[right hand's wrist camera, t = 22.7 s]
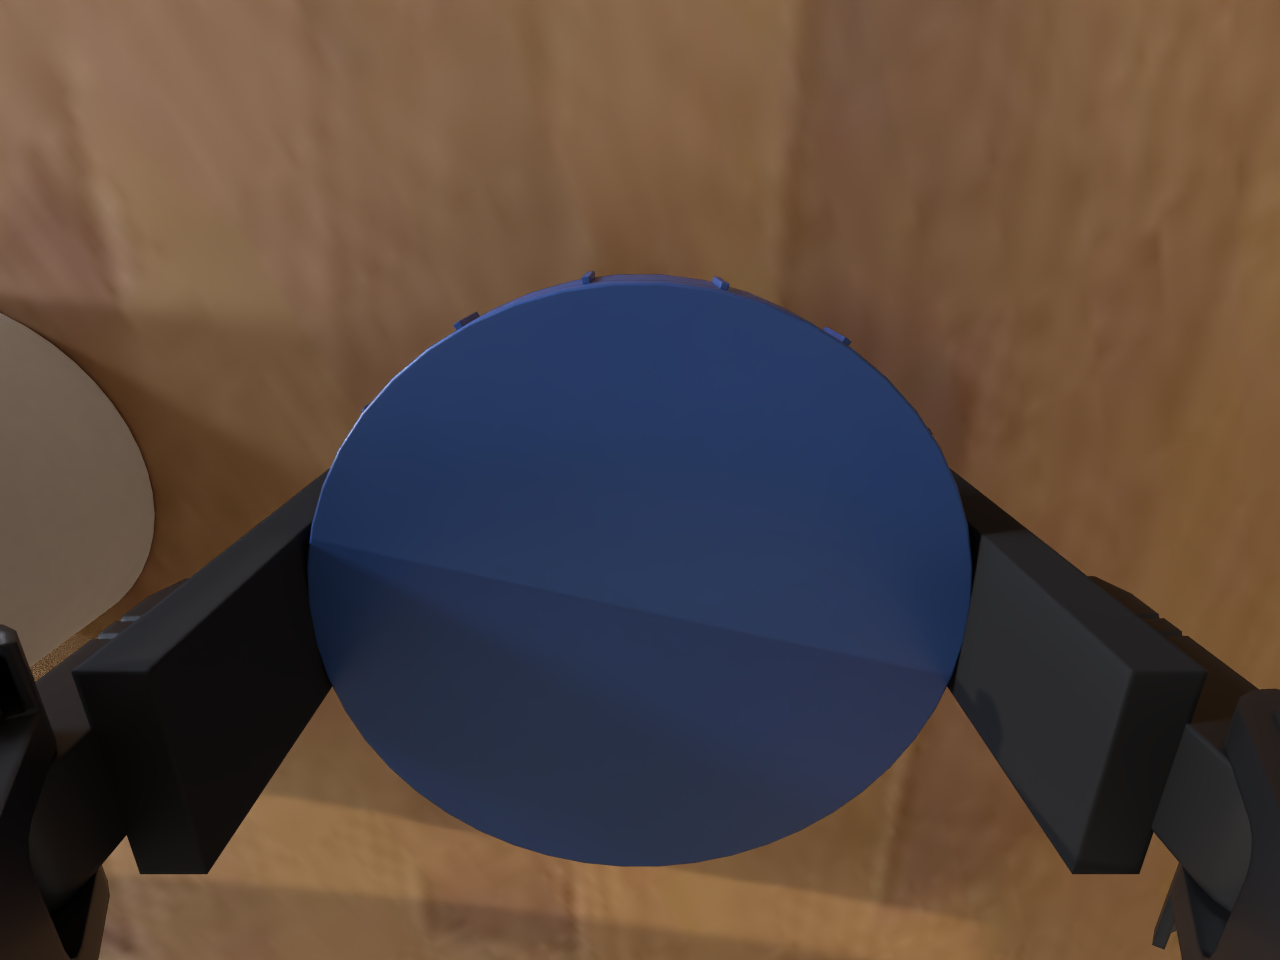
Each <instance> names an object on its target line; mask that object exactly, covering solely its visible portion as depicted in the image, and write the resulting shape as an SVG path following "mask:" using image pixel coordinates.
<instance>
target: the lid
mask: <svg viewBox="0 0 1280 960" xmlns="http://www.w3.org/2000/svg"><path fill="white" fill-rule="evenodd" d="M453 326H454V327H455V329H456V330H457V331H455V332H453V333H452V334H450V335H449V336H447V337H445V338H444V339H442V340H440V341H439V342H437V343H436V344H434V345H432V346H431V347H429V348H428V349H427V350H425V351H424V352H423V353H422V354H421V355H419V356H418V357H417V358H416V359H415V360H413V361H412V362H411V363H410V364H409V365H408V366H406V367H405V368H404V369H403V370H402V371H400V372H399V373H398V374H397V375H396V376H394V377H393V378H392V379H391V380H390V382H389V383H388V384H387V385H386V386H385V387H384V388H383V389H382V391H381V392H380V393H379V394H378V395H377V396H376V397H375V398H374V400H373V401H372V402H371V403H369V404H368V405H366V406H365V407H364V408H363V410H362V411H361V412H362V414H361V415H360V417H359V418H358V420H357V421H356V423H355V425H354V426H353V428H352V429H351V431H350V432H349V434H348V435H347V437H346V439H345V440H344V442H343V443H342V445H341V446H340V448H339V450H338V452H337V454H336V457H335V459H334V461H333V463H332V466H331V468H330V470H329V472H328V475H327V477H326V479H325V481H324V484H323V486H322V489H321V493H320V496H319V500H318V504H317V507H316V511H315V515H314V519H313V522H312V526H311V535H310V544H309V553H308V562H307V576H308V599H309V605H310V610H311V615H312V621H313V626H314V631H315V636H316V642H317V646H318V650H319V652H320V655H321V658H322V661H323V664H324V667H325V670H326V673H327V676H328V678H329V680H330V682H331V684H332V686H333V688H334V690H335V692H336V694H337V696H338V698H339V700H340V702H341V704H342V706H343V708H344V709H345V711H346V713H347V714H348V715H349V717H350V718H351V720H352V721H353V723H354V724H355V726H356V727H357V729H358V730H359V732H360V733H361V734H362V736H363V737H364V739H365V740H366V741H367V743H368V744H369V745H370V746H371V747H372V748H373V749H374V750H375V752H376V753H377V754H378V755H379V756H380V757H381V758H382V759H383V761H384V762H385V763H386V764H387V765H388V766H389V767H390V768H391V769H392V770H393V771H394V772H395V773H396V774H397V775H399V776H400V777H401V778H402V779H403V780H404V781H405V782H407V783H408V784H409V785H410V786H411V787H412V788H413V789H414V790H416V791H417V792H418V793H419V794H421V795H422V796H424V797H425V798H426V799H428V800H429V801H431V802H432V803H434V804H435V805H436V806H438V807H439V808H441V809H442V810H444V811H445V812H446V813H448V814H450V815H452V816H453V817H455V818H457V819H459V820H461V821H463V822H464V823H466V824H468V825H470V826H472V827H474V828H475V829H477V830H479V831H481V832H484V833H486V834H488V835H491V836H493V837H496V838H498V839H500V840H503V841H505V842H507V843H510V844H512V845H515V846H518V847H522V848H525V849H528V850H532V851H535V852H538V853H541V854H545V855H548V856H553V857H558V858H563V859H568V860H573V861H578V862H583V863H591V864H602V865H612V866H667V865H677V864H688V863H696V862H701V861H706V860H711V859H717V858H722V857H727V856H731V855H735V854H738V853H741V852H745V851H748V850H751V849H754V848H758V847H761V846H764V845H767V844H770V843H772V842H774V841H777V840H779V839H781V838H784V837H786V836H789V835H791V834H793V833H796V832H798V831H800V830H802V829H804V828H806V827H808V826H810V825H811V824H813V823H815V822H817V821H819V820H820V819H822V818H824V817H826V816H828V815H829V814H831V813H833V812H834V811H836V810H837V809H839V808H840V807H842V806H843V805H844V804H846V803H847V802H849V801H850V800H851V799H853V798H854V797H856V796H857V795H859V794H860V793H861V792H863V791H864V790H865V789H866V788H867V787H868V786H870V785H871V784H872V783H873V782H874V781H875V780H876V779H877V778H879V777H880V776H881V775H882V774H883V773H884V772H885V771H886V770H888V769H889V768H890V767H891V766H892V764H893V763H894V762H895V761H896V760H897V759H898V758H899V757H900V755H901V754H902V753H903V752H904V751H905V750H906V749H907V748H908V746H909V745H910V744H911V743H912V742H913V741H914V740H915V738H916V737H917V735H918V734H919V732H920V731H921V729H922V728H923V726H924V725H925V723H926V722H927V721H928V719H929V718H930V716H931V715H932V713H933V712H934V710H935V709H936V707H937V705H938V703H939V701H940V699H941V697H942V695H943V693H944V691H945V689H946V687H947V685H948V683H949V681H950V679H951V677H952V674H953V671H954V668H955V666H956V663H957V660H958V657H959V654H960V651H961V647H962V643H963V638H964V633H965V627H966V622H967V617H968V612H969V606H970V601H971V590H972V556H971V547H970V539H969V530H968V523H967V520H966V516H965V512H964V509H963V505H962V501H961V498H960V494H959V490H958V487H957V484H956V482H955V480H954V477H953V475H952V473H951V471H950V469H949V466H948V464H947V462H946V460H945V457H944V455H943V453H942V451H941V448H940V447H939V445H938V444H937V442H936V440H935V439H934V437H933V436H932V432H931V431H930V429H929V428H927V427H926V425H925V423H924V422H923V420H922V419H921V417H920V416H919V414H918V413H917V411H916V410H915V409H914V408H913V407H912V406H911V404H910V403H909V402H908V401H907V400H906V399H905V398H904V396H903V395H902V394H901V393H900V392H899V391H898V390H897V389H896V387H895V386H894V385H893V384H892V383H891V382H890V381H889V380H888V378H887V377H885V376H884V375H883V374H882V373H881V372H879V371H878V370H877V369H876V368H875V367H874V366H872V365H871V364H870V363H869V362H868V361H866V360H865V359H864V358H863V357H862V356H860V355H859V354H858V353H857V352H856V351H854V350H853V349H852V348H851V347H849V346H848V345H849V344H850V343H851V341H850V340H849V339H847V338H846V337H844V336H842V335H840V334H839V333H837V332H835V331H833V330H831V329H829V328H828V327H825V328H824V329H823V330H822V329H820V328H818V327H817V326H815V325H813V324H812V323H810V322H808V321H807V320H805V319H803V318H801V317H800V316H798V315H796V314H794V313H793V312H791V311H789V310H787V309H785V308H783V307H781V306H778V305H776V304H774V303H771V302H769V301H767V300H765V299H762V298H760V297H758V296H755V295H753V294H751V293H749V292H745V291H742V290H738V289H735V288H731V287H729V283H727V282H726V281H724V280H723V279H721V278H719V277H715V276H714V277H713V280H712V282H710V281H706V280H699V279H692V278H685V277H677V276H670V275H663V274H617V275H609V276H602V277H595V273H594V271H591V272H587V273H586V274H585V275H584V276H582V277H581V280H573V281H570V282H566V283H563V284H559V285H556V286H552V287H549V288H545V289H542V290H538V291H534V292H531V293H529V294H527V295H524V296H522V297H520V298H517V299H515V300H513V301H511V302H508V303H506V304H504V305H501V306H499V307H497V308H495V309H492V310H491V311H489V312H487V313H485V314H484V315H482V316H479V314H478V313H477V312H475V313H473V314H471V315H469V316H468V317H466V318H464V319H462V320H460V321H458V322H457V323H455V324H453Z"/></svg>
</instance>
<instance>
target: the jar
mask: <svg viewBox="0 0 1280 960" xmlns="http://www.w3.org/2000/svg"><path fill="white" fill-rule="evenodd" d="M154 518H155V512H154V501H153V492H152V488H151V483H150V479H149V475H148V471H147V468H146V465H145V463H144V460H143V457H142V455H141V452H140V449H139V447H138V445H137V443H136V441H135V439H134V438H133V436H132V434H131V432H130V430H129V428H128V426H127V424H126V423H125V421H124V420H123V418H122V417H121V415H120V414H119V412H118V411H117V409H116V408H115V406H114V405H113V403H112V402H111V401H110V400H109V399H108V397H107V396H106V395H105V394H104V393H103V391H102V390H101V389H100V388H99V386H98V385H97V384H96V383H95V382H94V381H93V380H92V379H91V378H90V377H89V376H88V375H87V374H86V373H85V372H84V371H83V370H82V369H81V368H80V367H79V366H78V365H77V364H76V363H75V362H74V361H73V360H72V359H70V358H69V357H68V356H67V355H65V354H64V353H63V352H62V351H60V350H59V349H58V348H57V347H55V346H54V345H53V344H52V343H50V342H49V341H47V340H46V339H44V338H43V337H41V336H40V335H38V334H37V333H35V332H34V331H32V330H31V329H29V328H28V327H26V326H24V325H22V324H20V323H18V322H17V321H15V320H13V319H11V318H9V317H7V316H5V315H3V314H1V313H0V624H2V625H6V626H8V627H10V628H12V629H14V630H16V632H17V634H18V637H19V640H20V643H21V645H22V648H23V651H24V654H25V656H26V659H27V662H28V664H29V667H31V666H33V665H34V664H36V663H37V662H38V661H40V660H41V659H42V658H44V657H45V656H46V655H48V654H49V653H50V652H52V651H53V650H54V649H56V648H57V647H58V646H60V645H61V644H63V643H64V642H65V641H67V640H68V639H69V638H71V637H72V636H73V635H75V634H76V633H77V632H79V631H80V630H81V629H83V628H84V627H86V626H87V625H88V624H90V623H91V622H92V621H94V620H95V619H96V618H98V617H99V616H100V615H102V614H103V613H104V612H106V611H107V610H108V609H110V608H111V607H112V606H113V605H115V604H116V603H117V602H119V601H120V600H121V599H122V598H123V596H124V595H125V594H126V593H127V592H128V591H129V590H130V589H131V588H132V586H133V585H134V583H135V582H136V580H137V579H138V577H139V575H140V574H141V572H142V570H143V568H144V565H145V563H146V560H147V558H148V555H149V553H150V548H151V544H152V539H153V535H154Z"/></svg>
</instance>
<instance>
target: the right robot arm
mask: <svg viewBox="0 0 1280 960" xmlns="http://www.w3.org/2000/svg"><path fill="white" fill-rule="evenodd" d="M949 469H950V468H949ZM329 470H330V468H329V469H328V470H327V471H326V472H324V473H323V474H322V475H321V476H319V477H318V478H317V479H315V480H314V481H313V482H312V483H310V484H309V485H308V486H307V487H305V488H304V489H303V490H301V491H300V492H299V493H298V494H296V495H295V496H294V497H293V498H291V499H290V500H289V501H287V502H286V503H285V504H284V505H282V506H281V507H280V508H279V509H277V510H276V511H275V512H273V513H272V514H271V515H270V516H268V517H267V518H266V519H265V520H263V521H262V522H261V523H259V524H258V525H257V526H256V527H254V528H253V529H252V530H251V531H249V532H248V533H247V534H245V535H244V536H243V537H242V538H240V539H239V540H238V541H237V542H235V543H234V544H233V545H231V546H230V547H229V548H228V549H226V550H225V551H224V552H223V553H221V554H220V555H219V556H217V557H216V558H215V559H214V560H212V561H211V562H210V563H208V564H207V565H206V566H205V567H203V568H202V569H201V570H200V571H198V572H197V573H196V574H194V575H193V576H192V577H191V578H189V579H184V580H182V581H180V582H178V583H176V584H174V585H172V586H170V587H167V588H165V589H163V590H161V591H159V592H157V593H155V594H153V595H151V596H149V597H147V598H146V599H145V600H143V601H142V602H141V603H139V604H138V605H137V606H135V607H134V608H133V609H131V610H130V611H129V612H127V613H126V614H125V615H123V616H122V617H121V618H122V619H121V621H115V622H114V623H113V624H112V625H110V626H109V627H108V628H106V629H105V630H104V631H102V632H101V633H100V634H98V636H99V637H98V639H92V640H90V641H89V642H88V643H86V644H85V645H84V646H82V647H81V648H80V649H78V650H77V651H76V652H75V653H73V654H72V655H71V656H69V657H68V658H67V659H65V660H64V661H63V662H61V663H60V664H59V665H57V666H56V667H55V668H53V669H52V670H51V671H49V672H48V673H47V674H45V675H44V676H43V677H41V678H40V679H39V680H38V681H36V682H35V681H34V678H33V675H32V673H31V670H30V667H29V664H28V662H27V659H26V656H25V654H24V651H23V648H22V645H21V643H20V640H19V637H18V634H17V632H16V630H14V629H12V628H10V627H8V626H6V625H2V624H0V960H98V959H99V953H100V948H101V942H102V936H103V931H104V925H105V920H106V914H107V908H108V903H109V897H110V894H109V887H108V880H107V878H106V875H105V872H104V869H103V867H102V864H103V862H104V861H105V860H106V859H107V858H108V856H109V855H110V854H111V853H112V852H113V851H114V849H115V848H116V847H117V846H118V845H119V843H120V842H121V841H122V840H123V839H124V837H125V836H126V835H127V837H128V840H129V843H130V846H131V849H132V852H133V854H134V857H135V860H136V863H137V866H138V869H139V872H140V874H208V872H209V871H210V869H211V868H212V866H213V865H214V863H215V862H216V860H217V859H218V857H219V856H220V854H221V853H222V851H223V850H224V848H225V847H226V845H227V844H228V842H229V841H230V839H231V838H232V836H233V835H234V833H235V832H236V830H237V829H238V827H239V826H240V824H241V823H242V821H243V820H244V818H245V817H246V815H247V814H248V812H249V811H250V809H251V808H252V806H253V805H254V803H255V802H256V800H257V799H258V797H259V796H260V794H261V793H262V791H263V790H264V788H265V787H266V785H267V784H268V782H269V781H270V779H271V778H272V776H273V775H274V773H275V772H276V770H277V769H278V767H279V766H280V764H281V763H282V761H283V760H284V758H285V756H286V755H287V753H288V752H289V750H290V749H291V747H292V746H293V744H294V743H295V741H296V740H297V738H298V737H299V735H300V734H301V732H302V731H303V729H304V728H305V726H306V725H307V723H308V722H309V720H310V719H311V717H312V716H313V714H314V713H315V711H316V710H317V708H318V707H319V705H320V704H321V702H322V701H323V699H324V698H325V696H326V695H327V693H328V692H329V690H330V689H331V687H332V684H331V682H330V680H329V678H328V676H327V673H326V670H325V667H324V664H323V661H322V658H321V655H320V652H319V650H318V646H317V642H316V636H315V631H314V626H313V621H312V615H311V610H310V605H309V599H308V576H307V562H308V553H309V544H310V535H311V526H312V522H313V519H314V515H315V511H316V507H317V504H318V500H319V496H320V493H321V489H322V486H323V484H324V481H325V479H326V477H327V475H328V472H329ZM950 471H951V473H952V475H953V477H954V480H955V482H956V484H957V487H958V490H959V494H960V498H961V501H962V505H963V509H964V512H965V516H966V520H967V523H968V530H969V539H970V547H971V556H972V590H971V601H970V606H969V612H968V617H967V622H966V627H965V633H964V638H963V643H962V647H961V651H960V654H959V657H958V660H957V663H956V666H955V668H954V671H953V674H952V677H951V679H950V681H949V683H948V685H947V687H948V688H949V690H950V691H951V693H952V694H953V696H954V697H955V699H956V700H957V702H958V703H959V705H960V706H961V708H962V709H963V711H964V712H965V714H966V715H967V717H968V718H969V720H970V721H971V723H972V724H973V726H974V727H975V729H976V730H977V732H978V733H979V735H980V736H981V738H982V739H983V741H984V742H985V744H986V745H987V747H988V748H989V750H990V751H991V753H992V754H993V756H994V757H995V759H996V760H997V762H998V763H999V765H1000V766H1001V768H1002V769H1003V771H1004V772H1005V774H1006V775H1007V777H1008V778H1009V780H1010V781H1011V783H1012V784H1013V786H1014V787H1015V789H1016V790H1017V792H1018V793H1019V795H1020V796H1021V798H1022V799H1023V801H1024V802H1025V804H1026V805H1027V807H1028V808H1029V810H1030V811H1031V813H1032V814H1033V816H1034V817H1035V819H1036V820H1037V822H1038V823H1039V825H1040V826H1041V828H1042V829H1043V831H1044V832H1045V834H1046V835H1047V837H1048V838H1049V840H1050V841H1051V843H1052V844H1053V846H1054V847H1055V849H1056V850H1057V852H1058V853H1059V855H1060V856H1061V858H1062V859H1063V861H1064V862H1065V864H1066V865H1067V867H1068V868H1069V870H1070V871H1071V873H1072V874H1139V873H1140V870H1141V867H1142V864H1143V861H1144V859H1145V856H1146V853H1147V850H1148V847H1149V844H1150V841H1151V838H1152V835H1153V832H1154V833H1155V834H1156V835H1157V836H1158V838H1159V839H1160V840H1161V841H1162V842H1163V844H1164V845H1165V846H1166V847H1167V848H1168V849H1169V851H1170V852H1171V853H1172V854H1173V855H1174V857H1175V858H1176V859H1177V860H1178V861H1179V864H1178V867H1177V869H1176V872H1175V875H1174V878H1173V880H1172V883H1171V886H1170V889H1169V891H1168V894H1167V897H1166V900H1165V902H1164V905H1163V908H1162V910H1161V913H1160V916H1159V919H1158V921H1157V924H1156V927H1155V930H1154V936H1153V943H1152V945H1154V946H1157V947H1159V948H1162V949H1165V947H1166V944H1167V941H1168V939H1169V936H1170V934H1171V933H1172V932H1174V931H1176V930H1177V934H1178V940H1179V945H1180V951H1181V957H1182V960H1280V690H1279V689H1261V690H1259V689H1258V688H1256V687H1255V686H1254V685H1252V684H1251V683H1250V682H1248V681H1247V680H1246V679H1244V678H1243V677H1242V676H1240V675H1239V674H1238V673H1236V672H1235V671H1234V670H1232V669H1231V668H1230V667H1228V666H1227V665H1226V664H1224V663H1223V662H1222V661H1220V660H1219V659H1218V658H1216V657H1215V656H1214V655H1212V654H1211V653H1210V652H1208V651H1207V650H1206V649H1204V648H1203V647H1202V646H1200V645H1199V644H1198V643H1196V642H1195V641H1194V640H1192V639H1191V638H1190V637H1188V636H1182V631H1180V630H1179V629H1178V628H1176V627H1175V626H1174V625H1172V624H1171V623H1170V622H1168V621H1167V620H1166V619H1164V618H1159V614H1158V613H1156V612H1155V611H1154V610H1152V609H1151V608H1150V607H1148V606H1147V605H1146V604H1144V603H1143V602H1142V601H1140V600H1139V599H1138V598H1136V597H1135V596H1134V595H1132V594H1131V593H1129V592H1127V591H1125V590H1122V589H1120V588H1118V587H1116V586H1114V585H1112V584H1110V583H1108V582H1105V581H1103V580H1101V579H1099V578H1097V577H1095V576H1086V575H1085V574H1084V573H1082V572H1081V571H1080V570H1079V569H1077V568H1076V567H1075V566H1074V565H1072V564H1071V563H1070V562H1068V561H1067V560H1066V559H1065V558H1063V557H1062V556H1061V555H1060V554H1058V553H1057V552H1056V551H1054V550H1053V549H1052V548H1051V547H1049V546H1048V545H1047V544H1046V543H1044V542H1043V541H1042V540H1040V539H1039V538H1038V537H1037V536H1035V535H1034V534H1033V533H1032V532H1030V531H1029V530H1028V529H1026V528H1025V527H1024V526H1023V525H1021V524H1020V523H1019V522H1018V521H1016V520H1015V519H1014V518H1012V517H1011V516H1010V515H1009V514H1007V513H1006V512H1005V511H1004V510H1002V509H1001V508H1000V507H998V506H997V505H996V504H995V503H993V502H992V501H991V500H990V499H988V498H987V497H986V496H984V495H983V494H982V493H981V492H979V491H978V490H977V489H976V488H974V487H973V486H972V485H970V484H969V483H968V482H967V481H965V480H964V479H963V478H962V477H960V476H959V475H958V474H956V473H955V472H954V471H953V470H951V469H950Z"/></svg>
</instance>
